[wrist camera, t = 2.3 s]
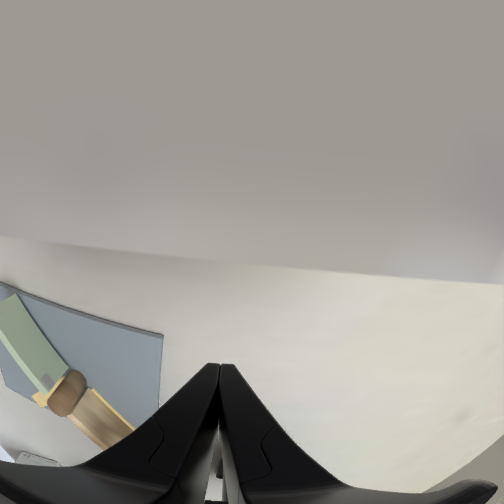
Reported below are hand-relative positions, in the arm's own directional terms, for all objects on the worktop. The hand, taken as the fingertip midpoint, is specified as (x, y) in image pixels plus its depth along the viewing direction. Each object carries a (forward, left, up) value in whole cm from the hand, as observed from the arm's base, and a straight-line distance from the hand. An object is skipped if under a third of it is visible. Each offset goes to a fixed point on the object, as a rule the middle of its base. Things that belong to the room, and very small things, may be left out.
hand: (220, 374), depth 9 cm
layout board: (-13, +14, -12) cm, 23 cm away
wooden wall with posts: (-16, +9, -12) cm, 22 cm away
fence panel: (-9, +16, -11) cm, 22 cm away
